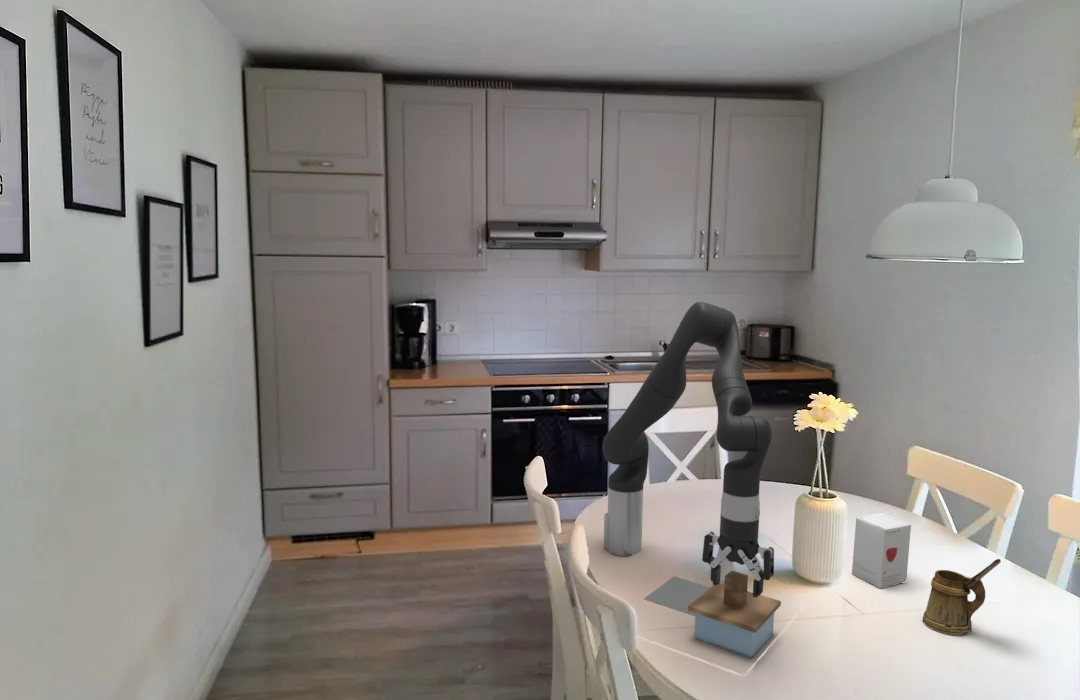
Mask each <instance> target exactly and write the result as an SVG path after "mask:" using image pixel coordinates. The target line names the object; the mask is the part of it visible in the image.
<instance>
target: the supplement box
mask: <svg viewBox="0 0 1080 700" xmlns="http://www.w3.org/2000/svg"><path fill="white" fill-rule="evenodd" d="M911 529H912V524H911V523H908V522H907V521H904V520H901V519H898V518H896V517H893V516H891V515H888V514H886V513H884V512H881V513H879V512H878V513H875V514H874V513H873V514H867V515H862V516H858V517H855V531H854V541H853V552H852V553H853V555H852V565H851V574H852V575H853V576H856V577H857V578H859V579H861V580H863V581H865V582H866V581H867V583H868V582H869V583H868V584H870V583H871V585H872V584H873V586H874V585H875V587H876V586H877V588H878V587H879V588H878V589H880V588H881V589H885V588H889V586H890V587H893V586H892V585H894V586H897V585H896V584H898V585H900V584H899V583H903V582H905V581H906V582H907V577H908V575H907V574H908V566H909V565H908V564H909V552H910V542H911V541H910V540H911V531H912V530H911ZM903 584H904V583H903ZM884 587H885V588H884Z"/></svg>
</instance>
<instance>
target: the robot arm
mask: <svg viewBox="0 0 1080 700" xmlns="http://www.w3.org/2000/svg"><path fill="white" fill-rule="evenodd" d="M738 326H739V325H738V323H737V319H736V317H735V314H734V313H733V312H732V311H730V310H728V309H727V308H724V307H720V306H718V305H715V304H710V303H708V302H704V301H697V302H695V303H693V304H692V305H691V306H689V308H688V310H686V312H685V314H684V316H683V318H682V319H681V321H680V323H679V324H678V327H677V329H676V330H675V331H674V332H675V333H674V334H673V335H672V338H671V340H670V342H669V343H668V346H666V347H667V348H666V349H665V350H664V352H663V353H662V355H661V357H660V358H659V360H658V361H657V362H656V365H654V367H653V369H652V370H651V371H650V373H649V375H648V376H647V377H646V379H645V381H644V382H643V383H642V386H641V387H640V389H639V390H638V392H637V393H636V394H635V396H634V398H633V399H632V400H631V402H630V403H629V405H628V407H627V408H626V410H625V411H624V412H623V414H622V415H621V416H620V417H619V419H618V420H617V421H616V422H615V424H614V425H613V426H611V428H610V429H609V430H608V432H606V435H605V436H604V438H603V440H602V448H601V449H602V454H603V457H604V460H606V461H607V462H609V463H610V464H612V465H616V466H617V465H618V467H617V468H616V469H615V470H614V471H613V472H612V473H611V474H610V475H609V477H608V481H607V482H608V483H607V489H608V490H607V512H606V513H605V514H604V515H603V516H604V517H603V518H604V519H603V520H604V523H603V549H605V550H606V551H608V552H609V553H611V554H613V555H616V556H620V557H621V556H622V557H630V556H633V555H635V554H638V553H641V551H642V547H643V545H642V544H643V541H642V539H643V515H644V514H643V510H644V485H645V481H646V478H647V475H648V464H649V450H650V448H649V447H650V445H649V439H648V437H647V434H646V432H645V431H646V430H648V429H649V428H650V427H652V426H653V425H654V424H655V423H657V422H658V421H659V420H661V419H662V418H663V417H665V416H666V415H667V414H668V413H669V412H670V411H671V410H672V409H673V408H674V407H675V405H676V403H677V402H678V401H679V400H680V398H681V397H682V395H683V394H684V393H685V390H686V387H687V368H686V366H687V365H686V359H687V355H688V353H689V352H690V350H691V348H692V346H694V344H696V343H698V344H702V345H704V346H708V347H711V348H715V349H716V351H717V353H718V356H719V361H718V363H717V364H716V366H715V368H714V371H713V373H712V376H711V388H712V392H713V395H714V398H715V403H716V406H717V424H716V425H717V426H716V433H715V434H716V441H717V443H718V445H719V446H720V448H721V449H723V450H724V451H726V452H746V454H745V455H744V456H743V457H742V458H739V459H734V460H732V461H728V462H726V464H724V466H723V467H724V468H723V478H722V479H723V480H722V481H723V486H722V495H721V500H720V517H719V518H720V522H719V535H715V532H713V531H710V532H708V533H707V534H706V535H704V538H703V547H702V548H703V549H702V559H701V560H702V562H703V563H707V564H708V565H709V566H710V571H711V577H710V581H711V582H712V586H713V585H716V586H717V585H718V584H719V583H721V582H720V575H721V565H719V564H720V563H721V562H722V561H723V560H724V559H725V558H727V559H728V561H731V562H733V563H737V564H739V565H742V566H744V565H745V567H746V568H747V570H748V571H749V572H750V573H751V574H752V576H753V577H754V578H753V585H752V586H753V587H752V593H753V597H756V598H757V597H758V596H760V595H763V594H762V593H764V583H765V582H764V581H769V580H770V579H771V578H772V577H774V576H775V549H774V547H772V546H769V547H761V546H760V544H759V531H760V516H761V509H760V508H761V503H760V485H761V484H760V483H761V473H762V469H763V465H764V464H765V463H764V462H765V459H766V456H767V454H768V451H769V449H770V446H771V442H772V439H773V431H772V430H773V429H772V426H771V423H770V422H769V420H768V419H767V418H766V417H764V416H760V415H747V414H748V413H749V412H750V411H751V410H752V407H753V400H752V396H751V392H750V390H749V389H750V388H749V387H748V383H747V382H746V377H745V374H744V370H743V365H742V364H743V363H742V355H741V344H740V335H739V327H738ZM715 545H718V548H719V547H720V548H721V550H722V552H721V553H720V554H719V555H718V556H717V555H716V557H714V556H713V555H714V546H715ZM758 554H760V557H761V559H762V560H763V568H762V566H761V562H760V560H759V558H758V557H757V555H758Z"/></svg>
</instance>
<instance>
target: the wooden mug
mask: <svg viewBox="0 0 1080 700" xmlns="http://www.w3.org/2000/svg"><path fill="white" fill-rule="evenodd" d="M1000 563H1001V558H997V559H995V560H994V561H992V562H991V563H990V564H989V565H987V566H986V567H985V568H983V570H981V571H980V572H978V573H976V574H975V575H974V576H972V577H971V576H965V575H963V574H962V573H959V572H956V571H954V570H953V571H952V570H949V569H937V570H936V571H935V573H934V576H933V577H932V579H931V582H930V585H931V590H930V593H929V597H928V601H927V603H926V604H927V605H926V608H925V611H924V613H923V616H922V619H923V620H922V622H924V623H925V624H926V625H927V626H929V627H930V628H929V627H928V628H929V629H931V628H932V629H931V630H933V629H934V630H933V631H935V630H937V631H940V632H943V633H942V634H944V633H947V634H946V635H948V634H952V635H951V636H956V635H960V636H965V635H968V634H969V633H970V632H972V631H973V630H972V624H973V623H972V620H971V619H972V616H973V615H974V614H975V612H976V611H978V610H979V609H980V608H981V607H982V606H983V604H984V602H985V599H986V589H985V585H984V584H983V582H982V579H983V578H984V577H985V576H986V575H988V573H990V572H991V571H992V570H994V569H995V568H996V567H997V566H998V565H999V564H1000ZM971 591H972V592H973V593H974V595H975V598H974V600H971V601H970V600H969V599H968V597H969V595H970V594H971ZM924 623H923V624H924ZM925 624H924V625H925ZM926 625H925V626H926ZM927 626H926V627H927ZM937 631H936V632H937ZM940 632H939V633H940ZM967 633H968V634H967Z"/></svg>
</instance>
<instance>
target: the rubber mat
mask: <svg viewBox="0 0 1080 700" xmlns="http://www.w3.org/2000/svg"><path fill="white" fill-rule="evenodd" d="M710 587H711V586H708V585H705V584H701V583H699V582H698V583H697V582H694V581H692V580H691V581H690V580H688V579H684V578H681V577H677V576H674V575H673V576H672V577H671V578H669V579H668V580H667V581H666V582H664V583H663V584H661V585H660V586H659V587H657V588H656V589H655V590H653V591H652V592H650V594H648V595H647V596H645V597H644V598H643V600H646V601H649V602H652V603H654V604H657V605H660V606H663V607H666V608H668V609H672V610H674V611H678V612H680V613H684V614H687V615H691V616H693V617H695V613H693V612H690V611H688V606H689V605H690V604H692V603H693V602H694V601H695V600H696V599H698V598H699V597H700V596H701V595H702V594H703V593H705V592H706V591H707V590H708V589H709V588H710Z"/></svg>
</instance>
